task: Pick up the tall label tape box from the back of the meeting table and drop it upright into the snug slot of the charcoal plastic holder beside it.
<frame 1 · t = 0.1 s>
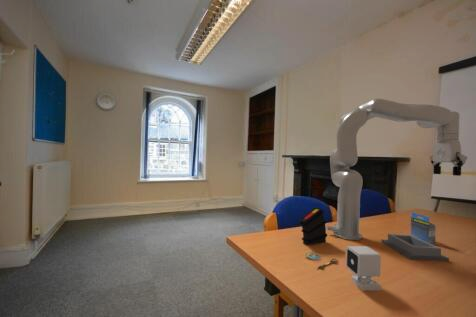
hand: (446, 174, 104), 31 cm above the table, tool pointing down, fingers open, 9 cm apart
black ridged block: (312, 243, 94), on the table
security camera: (363, 285, 63), on the table
label tape box: (422, 240, 103), on the table
slot holder: (411, 250, 90), on the table
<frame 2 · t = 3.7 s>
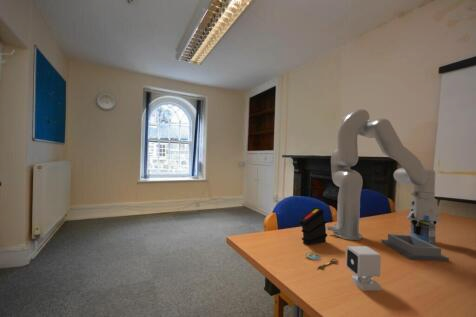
hand: (422, 234, 103), 3 cm above the table, tool pointing down, fingers closed on label tape box, 4 cm apart
label tape box: (422, 240, 103), on the table, touching gripper
everything else where it was.
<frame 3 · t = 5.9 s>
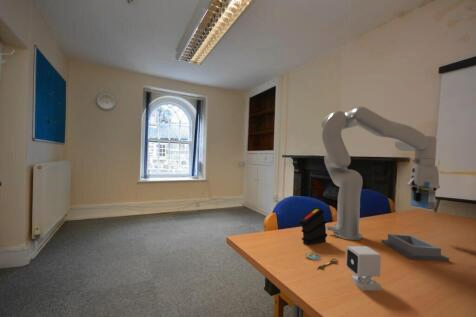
hand: (422, 201, 103), 18 cm above the table, tool pointing down, fingers closed on label tape box, 4 cm apart
label tape box: (421, 207, 103), point 15 cm above the table, touching gripper
everything else where it was.
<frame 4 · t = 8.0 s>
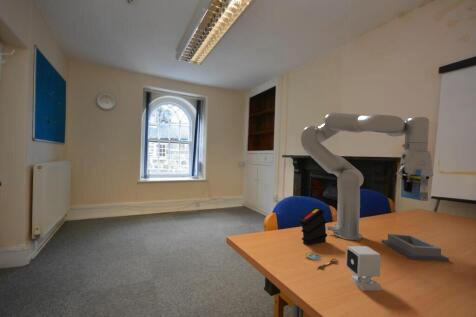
hand: (413, 191, 91), 24 cm above the table, tool pointing down, fingers closed on label tape box, 4 cm apart
label tape box: (413, 199, 91), point 21 cm above the table, touching gripper
everything else where it was.
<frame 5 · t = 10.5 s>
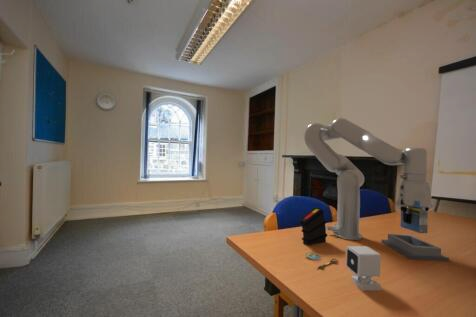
hand: (413, 222, 90), 12 cm above the table, tool pointing down, fingers closed on label tape box, 4 cm apart
label tape box: (413, 230, 90), point 8 cm above the table, touching gripper
everything else where it was.
when the fingers open (5 cm above the table, at t = 12.8 s): label tape box drops 1 cm, resting on slot holder.
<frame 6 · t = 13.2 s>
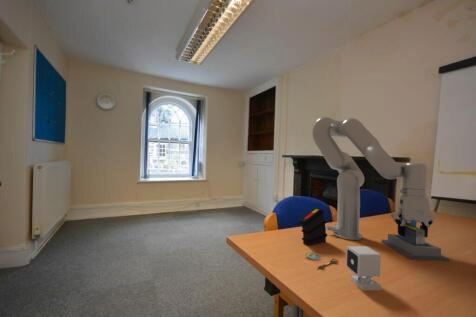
hand: (412, 235, 90), 6 cm above the table, tool pointing down, fingers open, 8 cm apart
label tape box: (410, 248, 90), point 1 cm above the table, touching slot holder
everything else where it was.
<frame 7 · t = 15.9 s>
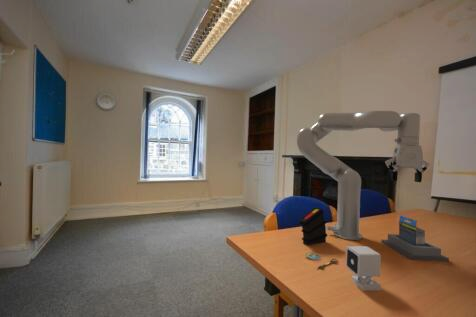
hand: (405, 181, 96), 28 cm above the table, tool pointing down, fingers open, 9 cm apart
nothing on the table moved.
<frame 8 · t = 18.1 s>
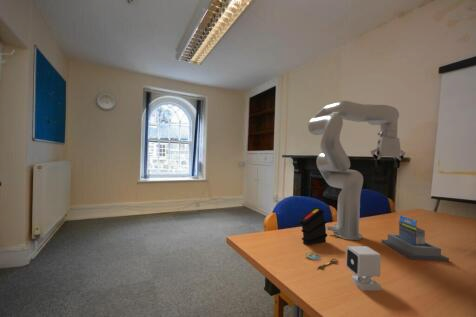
hand: (387, 167, 117), 33 cm above the table, tool pointing down, fingers open, 9 cm apart
nothing on the table moved.
at the end: label tape box 0.4 cm off-centre on the slot holder, point 1.0 cm above the slot holder's base; label tape box tilted 0°; the gripper is holding nothing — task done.
